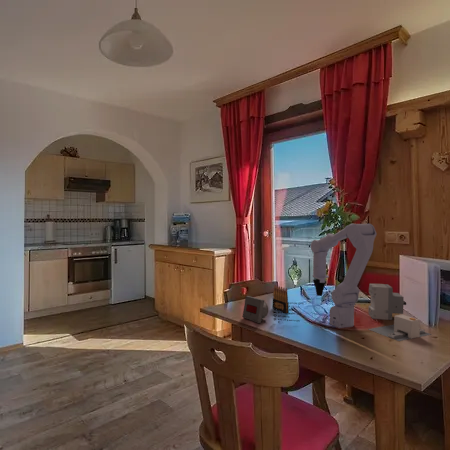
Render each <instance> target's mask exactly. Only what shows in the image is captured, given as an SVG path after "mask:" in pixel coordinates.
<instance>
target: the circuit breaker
mask: <svg viewBox="0 0 450 450" xmlns="http://www.w3.org/2000/svg"><path fill="white" fill-rule="evenodd" d="M393 290H394V289H393V286H391V285H389V284H388V283H387V284H384V283H369V286H368V293H369V296H370V305H368V310H367V311H368V315H369V317H371V319H374V320H385V321H386V320H387V321H389V320H390V321H393V314H396V315H404V306H406V305H407V302H406V301H404V296H403V295H402V294H400V293H399V292H394V291H393Z"/></svg>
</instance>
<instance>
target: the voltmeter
mask: <svg viewBox="0 0 450 450" xmlns="http://www.w3.org/2000/svg"><path fill="white" fill-rule="evenodd" d="M274 302H275V303H276V302H277V301H274ZM281 303H282V301H281ZM284 303H288V304H290V305H291V304H294V305H297V304H300V305H301V304H302V305H304V302H302V303H301V302H289V301H288V302H284ZM274 305H275V304H274ZM275 306H276V305H275ZM279 306H280V305H279ZM281 306H282V305H281ZM283 307H284V305H283ZM285 307H286V306H285ZM287 307H288V306H287ZM278 310H280V308H278ZM278 310H276V307H274V309H273V313H272V316H273V321H277V320H278V321H277V323H280V321H282V322H281V324H284V322H283V321H286V320H287V322H300V320H298V319H296V320H294V319H289V318H290V316H288V315H300V316H301V315H302V313H298V312H297V313H295V312H292V311H294V308H293V309H292V308H289V309H288V310H289V311H291V312H292V313H291V312H289V313H288V315H279V314H286V312H283V313H282V312H280V311H278ZM281 310H282V308H281ZM283 310H287V309H283ZM268 314H269V306H268V303H267V302H266V301H265V299H262V298H258V297H254V296H251V295H246V296H245V298H244V304H243V312H242V318H243V319H246V320H250V321H253V322H254V323H258V324H261V323H262V322H263V319H265V318H266V317H267V316H268ZM277 314H278V315H277ZM276 317H282V319H281V318H276ZM283 318H285V319H283ZM286 318H288V319H286Z"/></svg>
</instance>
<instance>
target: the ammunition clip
mask: <svg viewBox="0 0 450 450" xmlns="http://www.w3.org/2000/svg"><path fill="white" fill-rule="evenodd" d="M272 296H273V298H272V305H271V306H272V309H273V310H275V309H274V307H276V310H275V311H277V312H280V313H281V312H282V313H281V314H283V312H286V314H287V315H288V314H289V313H290V312H289V310H290V305H289V304H290V303H289V304H288V303H284V302H289V296H288V288H287V287H286V288H285V287H282V286H280V285H276V284H274V285H273V294H272ZM274 301H277V302H276V303H275V302H274ZM281 301H282V303H281ZM274 304H275V305H276V306H275V305H274ZM279 305H280V306H279ZM281 305H282V306H281ZM283 305H284V307H283ZM285 306H286V307H285ZM287 306H288V307H287ZM278 308H280V310H278ZM281 308H282V310H281ZM283 309H287V310H283ZM288 309H289V310H288Z"/></svg>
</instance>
